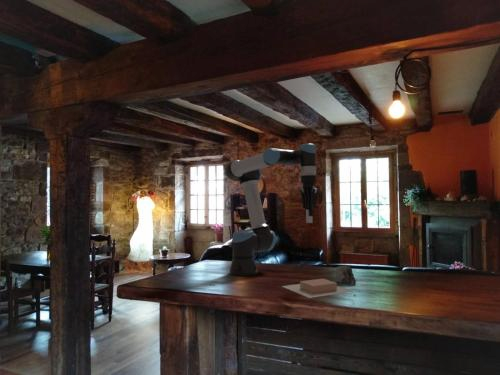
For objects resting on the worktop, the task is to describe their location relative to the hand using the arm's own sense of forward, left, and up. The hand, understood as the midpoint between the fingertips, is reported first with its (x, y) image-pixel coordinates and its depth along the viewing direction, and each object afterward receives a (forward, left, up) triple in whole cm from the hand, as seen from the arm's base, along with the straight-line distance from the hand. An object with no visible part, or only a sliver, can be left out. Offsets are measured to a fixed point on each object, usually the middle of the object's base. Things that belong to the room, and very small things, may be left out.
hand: (309, 222), depth 181 cm
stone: (+15, +9, -29) cm, 34 cm away
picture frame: (+16, -10, -26) cm, 32 cm away
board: (+19, -10, -28) cm, 36 cm away
